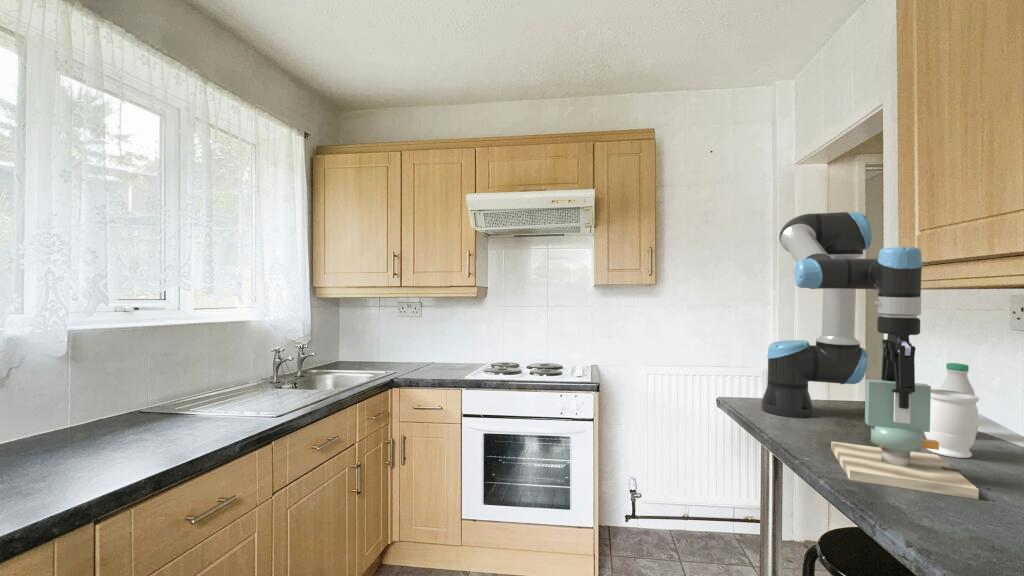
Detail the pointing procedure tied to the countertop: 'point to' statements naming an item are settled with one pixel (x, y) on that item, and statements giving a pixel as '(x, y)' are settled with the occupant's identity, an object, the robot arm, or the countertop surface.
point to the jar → (953, 422)
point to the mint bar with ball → (882, 417)
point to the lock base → (902, 469)
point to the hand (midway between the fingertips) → (896, 417)
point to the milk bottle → (957, 379)
